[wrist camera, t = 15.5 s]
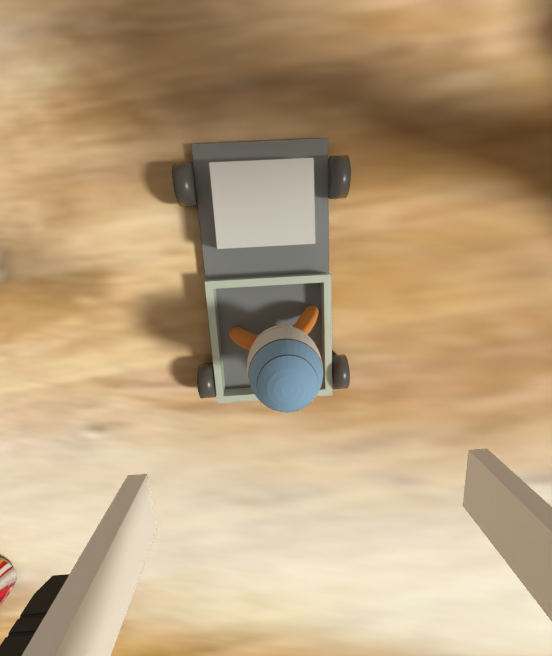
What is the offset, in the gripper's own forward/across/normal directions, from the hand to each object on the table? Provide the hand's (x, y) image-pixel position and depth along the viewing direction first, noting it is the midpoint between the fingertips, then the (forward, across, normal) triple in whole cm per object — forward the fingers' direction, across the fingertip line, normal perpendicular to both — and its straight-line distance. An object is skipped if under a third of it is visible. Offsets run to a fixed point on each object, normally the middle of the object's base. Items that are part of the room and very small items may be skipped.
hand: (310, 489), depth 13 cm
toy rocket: (+26, +1, 0) cm, 26 cm away
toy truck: (+27, +1, -6) cm, 27 cm away
